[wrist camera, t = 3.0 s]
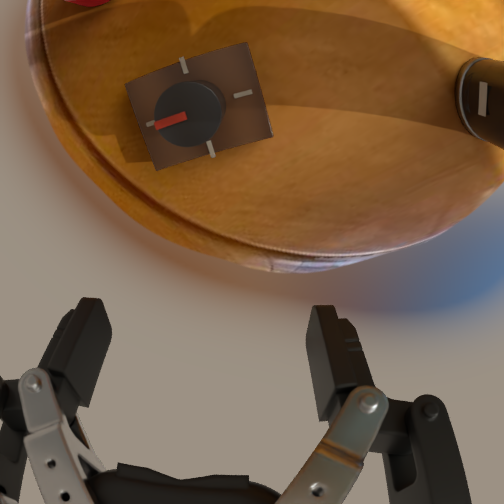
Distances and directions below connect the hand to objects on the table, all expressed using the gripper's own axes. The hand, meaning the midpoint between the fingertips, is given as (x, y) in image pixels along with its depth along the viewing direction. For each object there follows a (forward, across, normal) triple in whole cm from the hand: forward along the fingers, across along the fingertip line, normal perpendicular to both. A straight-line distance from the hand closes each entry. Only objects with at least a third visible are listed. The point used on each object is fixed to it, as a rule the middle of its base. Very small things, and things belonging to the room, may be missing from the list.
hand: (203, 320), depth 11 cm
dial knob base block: (+19, +2, -6) cm, 20 cm away
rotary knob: (+16, +2, -6) cm, 17 cm away
